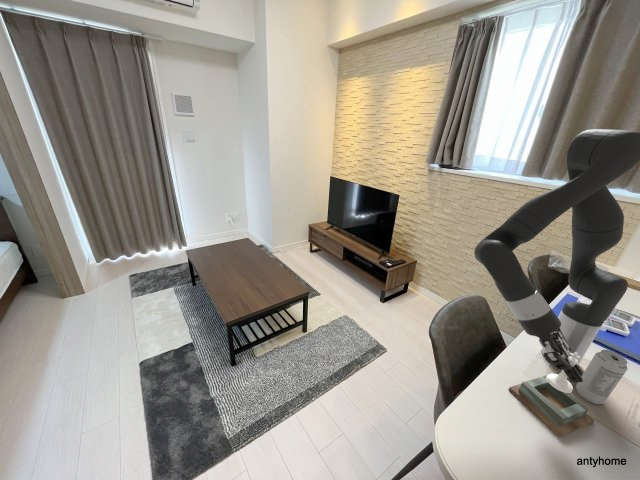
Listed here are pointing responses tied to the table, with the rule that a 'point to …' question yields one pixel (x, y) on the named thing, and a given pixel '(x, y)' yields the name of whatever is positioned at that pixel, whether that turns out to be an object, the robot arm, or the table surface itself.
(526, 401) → the socket board
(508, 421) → the table surface
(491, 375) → the table surface
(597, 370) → the energy drink can
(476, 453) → the table surface
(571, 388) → the chess piece
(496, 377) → the table surface
